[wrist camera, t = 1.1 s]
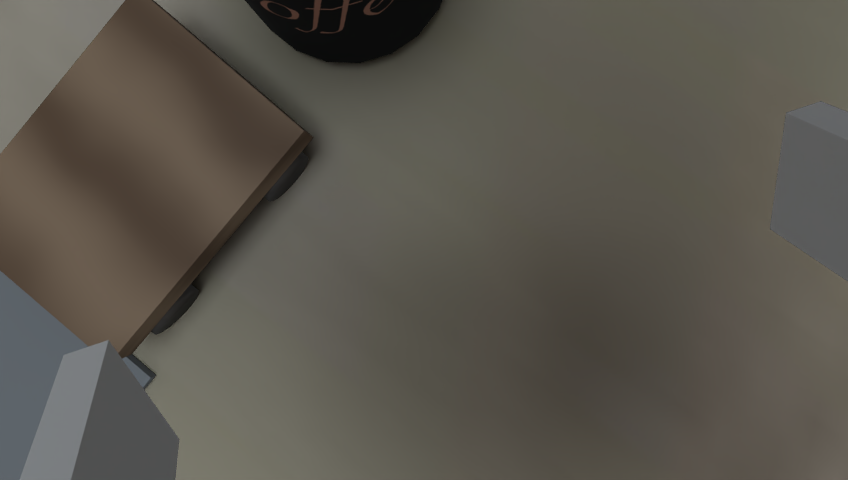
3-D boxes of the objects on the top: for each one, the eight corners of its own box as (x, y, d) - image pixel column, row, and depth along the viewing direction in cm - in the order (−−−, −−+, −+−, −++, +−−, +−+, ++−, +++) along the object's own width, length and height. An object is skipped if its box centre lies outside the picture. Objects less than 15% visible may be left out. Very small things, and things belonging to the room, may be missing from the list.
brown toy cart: (183, 23, 32) (136, -13, 27) (325, 145, 32) (304, 130, 27) (20, 222, 33) (-56, 222, 28) (159, 342, 33) (108, 364, 28)
